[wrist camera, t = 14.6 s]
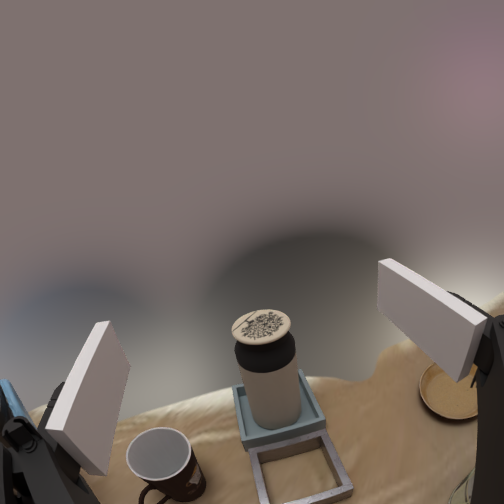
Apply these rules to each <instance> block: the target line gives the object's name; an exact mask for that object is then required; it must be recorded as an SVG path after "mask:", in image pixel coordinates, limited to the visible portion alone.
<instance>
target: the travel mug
mask: <svg viewBox="0 0 504 504" xmlns="http://www.w3.org/2000/svg"><path fill="white" fill-rule="evenodd" d="M290 325H291V323H290V319H289V317H288V316H287V315H286V314H284V313H282V312H280V311H276V310H259V311H254V312H251V313H248V314H246V315H244V316H242V317H240V318H239V319H238V320H237V321H236V322H235V323H234V325H233V326H232V335H233V336H234V338H235V339H236V340H237V343H236V345H235V354H236V358H237V362H238V366H239V369H240V373H241V376H242V380H243V384H244V388H245V391H246V395H247V398H248V402H249V405H250V409H251V412H252V416H253V419H254V421H255V422H256V423H257V424H258V425H259V426H261V427H263V428H266V429H272V430H276V429H281V428H285V427H288V426H290V425H292V424H293V423H295V422H296V421H297V419H298V418H299V417H300V414H301V398H300V388H299V378H298V368H297V358H296V349H295V341H294V338H293V336H292V335H291V334H290V332H289V331H288V330H289V328H290Z"/></svg>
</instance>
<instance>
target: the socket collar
mask: <svg viewBox="0 0 504 504" xmlns="http://www.w3.org/2000/svg"><path fill="white" fill-rule="evenodd" d="M320 447H321V449H322V451H323V454H324V456H325V458H326V461H327V463H328V465H329V467H330V470H331V472H332V474H333V476H334V479H335V481H336V483H337V485H338V487H337V488H334V489H331V490H328V491H326V492H322V493H319V494H316V495H313V496H310V497H306V498H303V499H299V500H295V501H291V502H287V503H283V504H332V503H335V502H338V501H341V500H343V499H346V498H349V497H351V495H352V492H353V489H354V487H353V485H352V483H351V481H350V479H349V477H348V475H347V473H346V471H345V469H344V467H343V465H342V462H341V460H340V458H339V456H338V454H337V452H336V450H335V448H334V446H333V444H332V442H331V439H330V437H329V435H328V433H327V431H326V429H322V430H319V431H316V432H313V433H309V434H306V435H303V436H299V437H296V438H292V439H289V440H285V441H281V442H277V443H273V444H269V445H264V446H260V447H255V448H250V449H248V451H249V455H250V460H251V465H252V469H253V474H254V478H255V483H256V487H257V491H258V496H259V500H260V504H271V503H270V500H269V496H268V492H267V488H266V484H265V480H264V476H263V472H262V468H261V463H265V462H270V461H274V460H278V459H282V458H286V457H290V456H294V455H297V454H301V453H304V452H307V451H311V450H314V449H317V448H320Z"/></svg>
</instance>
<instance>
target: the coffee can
mask: <svg viewBox="0 0 504 504" xmlns="http://www.w3.org/2000/svg"><path fill="white" fill-rule="evenodd" d="M474 474H475V468H474V469H473V470H472V471H471V472H470V473H469V475H468V476H467V477H466V478H465V479H464V480H463V481H462V482H461V483H460V484H459V485H458V486H457V487H456V488H455V490H454V491H453V493H452V495H451V497H450V499H449V502H448V504H470V501H471V495H472V489H473V482H474Z"/></svg>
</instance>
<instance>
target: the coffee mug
mask: <svg viewBox="0 0 504 504" xmlns="http://www.w3.org/2000/svg"><path fill="white" fill-rule="evenodd" d="M126 461H127V464H128V466H129V468H130V470H131V471H132V472H133V473H134V474H136V475H137V476H138V477H140V478H141V479H143V480H144V481H145V482H147V483H148V484H149V485H148V486H147V487H145V488H144V489H143V490H142V492H141V494H140V497H139V504H144V498H145V495H146V494H147V493H148V491H150V490H152V489H157V490H159V491H160V492H162V493H164V494H165V495H166V496H165V497H164V498H163V499H162V500H161V501H159V502H158V503H157V504H164V503H165V502H166V501H167V500H168V499H170V498H172V499H173V500H176V501H179V502H190V501H193V500H195V499H197V498H199V497H200V496H201V495H202V494H203V493H204V491H205V488H206V481H205V478H204V476H203V473H202V471H201V469H200V467H199V464H198V462H197V459H196V457H195V455H194V452H193V450H192V447H191V445H190V442H189V440H188V439H187V437H186V436H185V435H184V434H183V433H181V432H180V431H178V430H176V429H173V428H168V427H157V428H152V429H149V430H146V431H144V432H142V433H141V434H139V435H138V436H136V437H135V438H134V439H133V440H132V442H131V443H130V444H129V447H128V449H127V452H126Z"/></svg>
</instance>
